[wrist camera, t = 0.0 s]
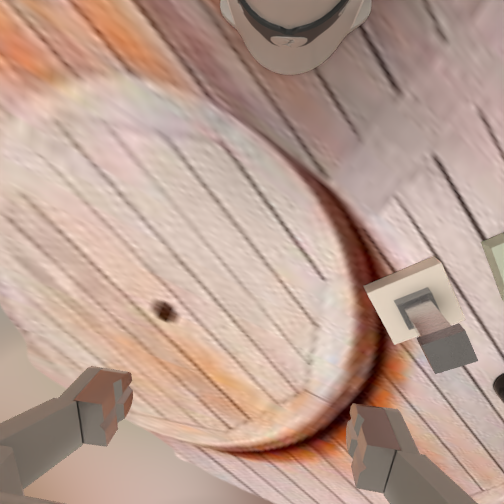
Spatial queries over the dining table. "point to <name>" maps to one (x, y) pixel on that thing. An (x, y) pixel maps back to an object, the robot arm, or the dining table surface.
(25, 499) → the robot arm
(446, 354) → the post
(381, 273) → the dining table surface
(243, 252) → the dining table surface
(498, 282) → the stand
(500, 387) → the supplement bottle
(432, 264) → the stand
